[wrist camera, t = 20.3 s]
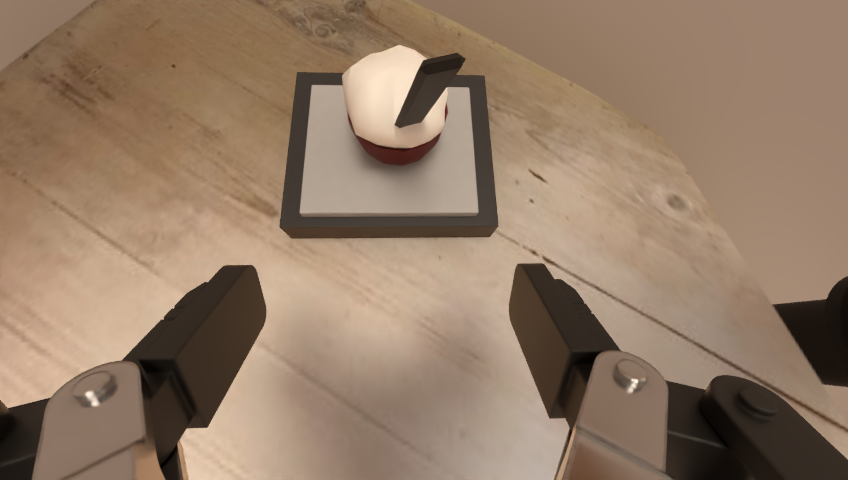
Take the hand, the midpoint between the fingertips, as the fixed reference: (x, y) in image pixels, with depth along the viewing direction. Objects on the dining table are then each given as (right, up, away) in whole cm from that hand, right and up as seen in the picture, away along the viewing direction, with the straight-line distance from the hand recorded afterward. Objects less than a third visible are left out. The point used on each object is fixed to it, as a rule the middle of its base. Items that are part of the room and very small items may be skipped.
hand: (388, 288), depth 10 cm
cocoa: (-1, +8, +13) cm, 16 cm away
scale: (-1, +8, +17) cm, 18 cm away
